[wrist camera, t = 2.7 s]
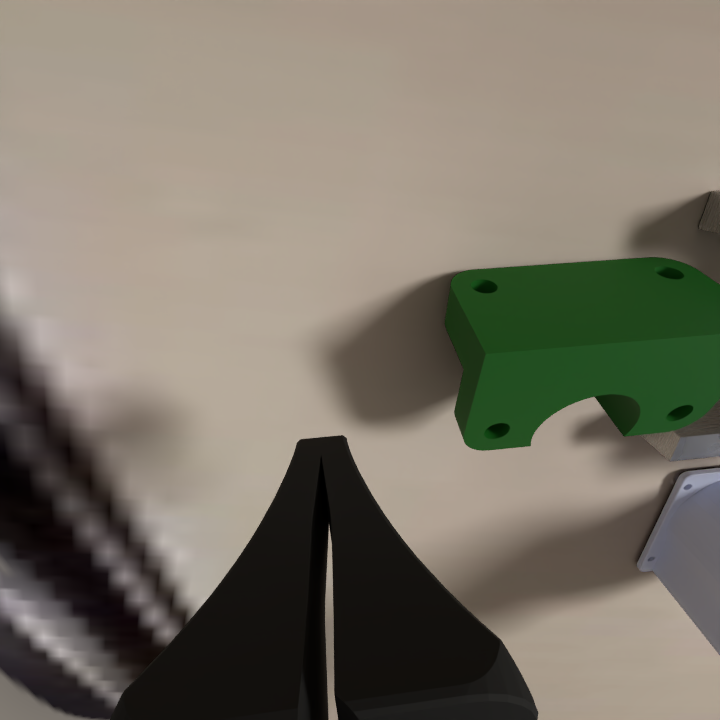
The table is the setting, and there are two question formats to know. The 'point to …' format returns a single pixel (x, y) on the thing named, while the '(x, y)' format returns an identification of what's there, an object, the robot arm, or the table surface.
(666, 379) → the clamp
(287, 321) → the table surface
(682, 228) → the table surface
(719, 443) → the motor housing
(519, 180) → the table surface
